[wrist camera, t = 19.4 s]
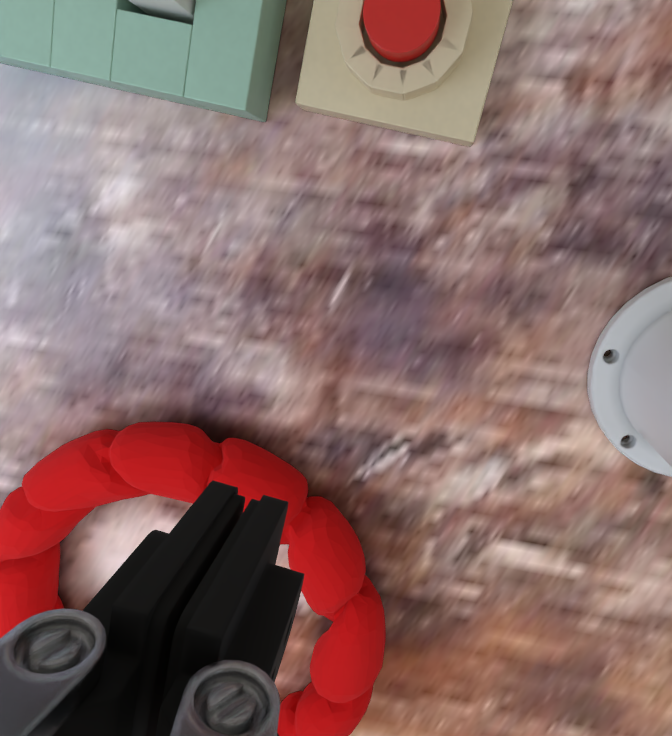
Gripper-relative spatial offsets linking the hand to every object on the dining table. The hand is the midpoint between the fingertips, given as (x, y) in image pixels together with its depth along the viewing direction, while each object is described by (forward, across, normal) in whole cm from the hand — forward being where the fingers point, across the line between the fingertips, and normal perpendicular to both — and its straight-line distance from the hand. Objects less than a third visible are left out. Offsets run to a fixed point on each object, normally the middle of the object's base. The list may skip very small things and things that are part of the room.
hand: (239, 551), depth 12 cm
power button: (+22, +2, -16) cm, 27 cm away
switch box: (+25, +2, -16) cm, 30 cm away
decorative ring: (+25, +8, +24) cm, 36 cm away
